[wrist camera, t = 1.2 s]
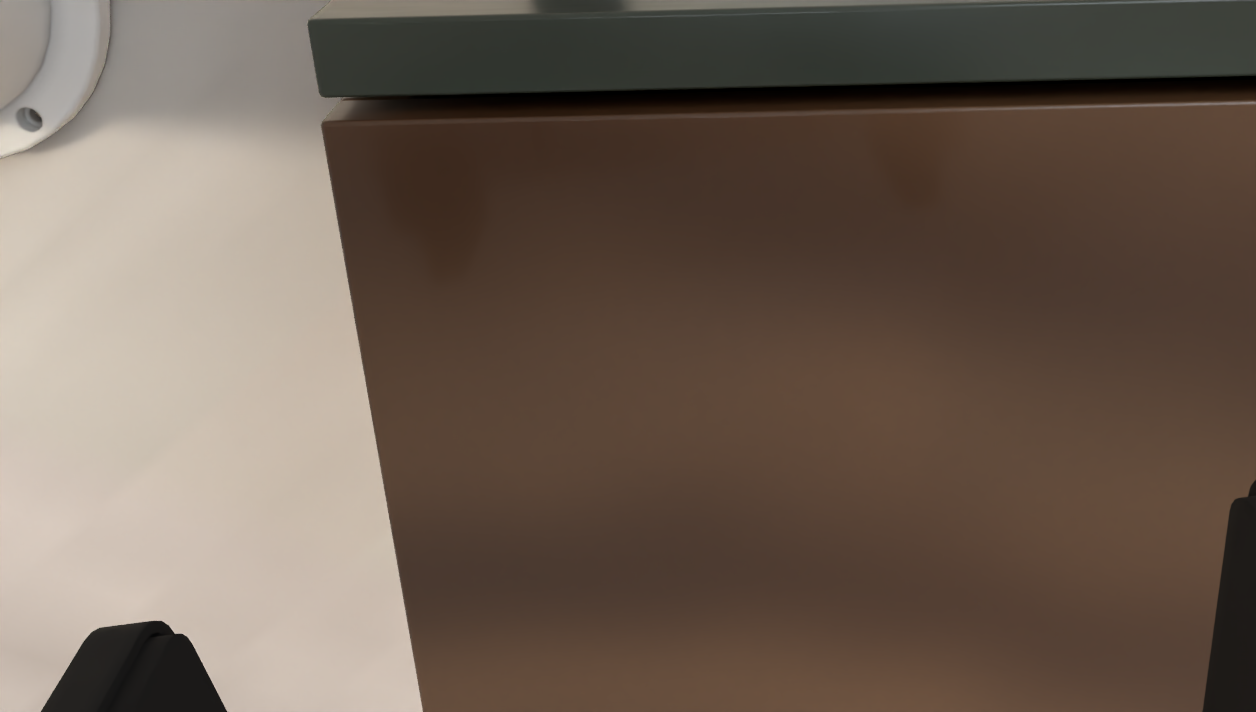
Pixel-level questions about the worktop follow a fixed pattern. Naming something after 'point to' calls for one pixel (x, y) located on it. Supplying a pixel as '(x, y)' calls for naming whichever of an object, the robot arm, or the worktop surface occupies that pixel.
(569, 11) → the door
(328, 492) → the worktop surface
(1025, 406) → the cupboard
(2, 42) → the robot arm
